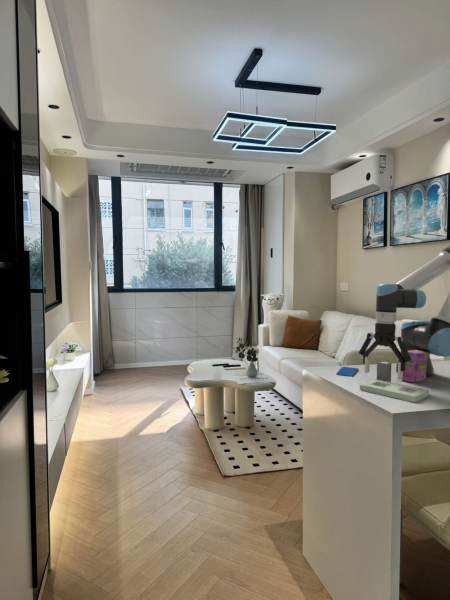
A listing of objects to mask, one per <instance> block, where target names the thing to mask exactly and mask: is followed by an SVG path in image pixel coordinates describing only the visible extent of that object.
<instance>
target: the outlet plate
mask: <svg viewBox="0 0 450 600" xmlns="http://www.w3.org/2000/svg"><path fill="white" fill-rule="evenodd" d="M359 391H363V392H367V393H372V394H376V395H381V396H386V397H389V398H393V399H394V398H395V399H398V400H402V401H407V402H411V403H417V402H419V401H421V400H423V399H425V398H427V397H429V396H430V389H427V388H421V387H416V386H411V385H406V384H401V383H396V382H392V381H391V382H387V381H382V380H377V378H375V379H373V380H369V381H366V382H364V383H361V384H359Z"/></svg>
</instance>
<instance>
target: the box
mask: <svg viewBox="0 0 450 600" xmlns="http://www.w3.org/2000/svg"><path fill="white" fill-rule="evenodd" d="M408 353H409V356H410V358H411V361H409V362H406V366H405V371H403V379H400V380H401V381H405V382H408V383H416V382H422V381H426V378H427V376H426V369H427V360H428V352H424V351H419V350H410V351H408ZM402 355H403V354H402Z"/></svg>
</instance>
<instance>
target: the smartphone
mask: <svg viewBox="0 0 450 600" xmlns="http://www.w3.org/2000/svg"><path fill="white" fill-rule="evenodd" d="M358 371H359V368H358V367H349V366H348V367H347V366H342V367H340V369H339V370H338V371H337V372H336V373H335V375H336V376H343V377H353V378H354V376H355V375H356V374H357V372H358Z"/></svg>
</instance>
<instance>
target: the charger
mask: <svg viewBox="0 0 450 600" xmlns="http://www.w3.org/2000/svg"><path fill="white" fill-rule="evenodd" d="M376 379H377V380H382V381H387V382H392V362H388V361H378V362H377V363H376Z"/></svg>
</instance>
